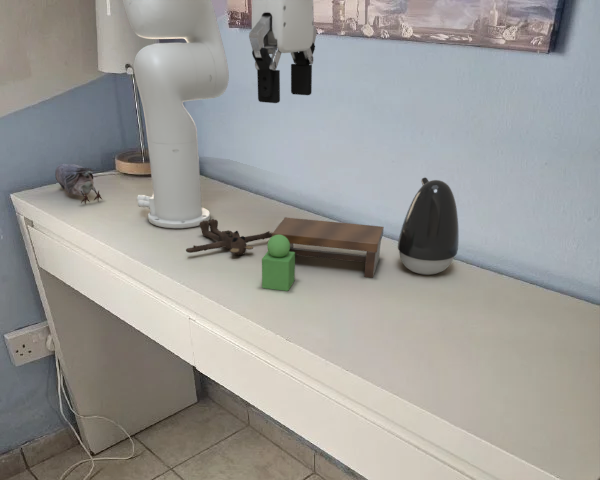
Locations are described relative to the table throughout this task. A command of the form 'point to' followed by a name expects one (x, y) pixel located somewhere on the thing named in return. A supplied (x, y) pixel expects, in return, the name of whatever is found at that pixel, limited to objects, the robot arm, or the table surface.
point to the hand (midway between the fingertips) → (285, 98)
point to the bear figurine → (225, 239)
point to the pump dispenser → (430, 229)
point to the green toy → (278, 264)
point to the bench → (334, 240)
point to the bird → (76, 180)
